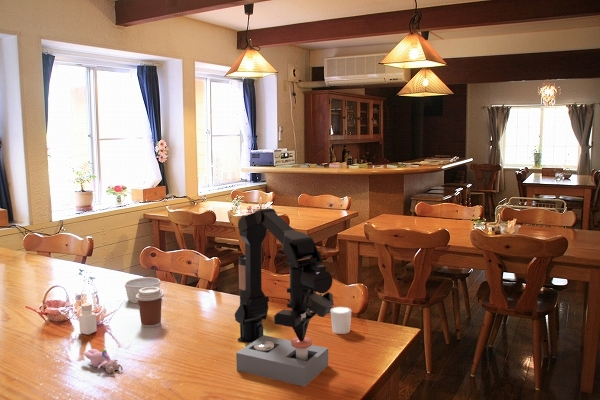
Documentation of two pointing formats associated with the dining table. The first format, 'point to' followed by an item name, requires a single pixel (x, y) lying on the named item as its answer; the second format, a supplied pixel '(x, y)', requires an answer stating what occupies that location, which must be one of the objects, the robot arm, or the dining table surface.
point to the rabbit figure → (102, 360)
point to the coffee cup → (150, 306)
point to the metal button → (264, 346)
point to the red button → (301, 347)
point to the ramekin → (139, 286)
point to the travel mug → (241, 274)
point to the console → (282, 361)
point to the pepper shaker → (87, 319)
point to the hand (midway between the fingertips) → (301, 340)
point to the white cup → (341, 319)
